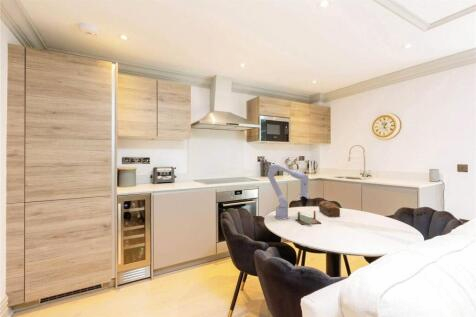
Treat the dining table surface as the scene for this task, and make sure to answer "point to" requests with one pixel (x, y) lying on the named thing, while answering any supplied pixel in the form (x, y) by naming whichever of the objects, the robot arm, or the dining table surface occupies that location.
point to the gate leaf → (305, 218)
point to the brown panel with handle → (313, 220)
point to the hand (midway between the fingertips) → (304, 206)
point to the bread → (329, 209)
